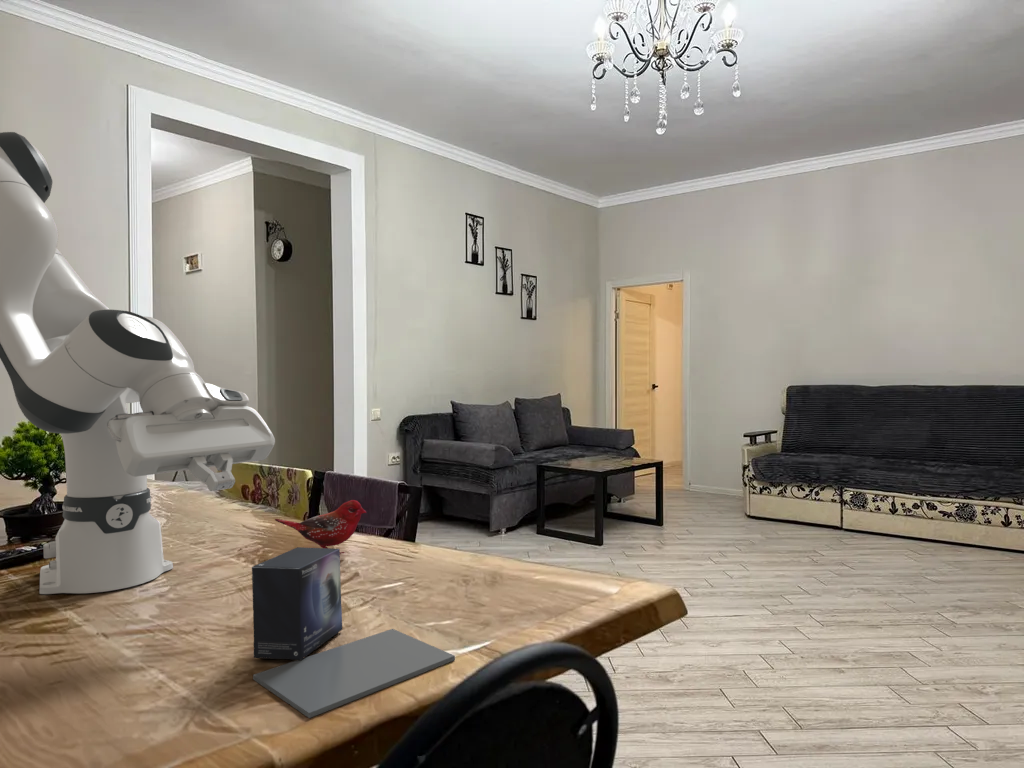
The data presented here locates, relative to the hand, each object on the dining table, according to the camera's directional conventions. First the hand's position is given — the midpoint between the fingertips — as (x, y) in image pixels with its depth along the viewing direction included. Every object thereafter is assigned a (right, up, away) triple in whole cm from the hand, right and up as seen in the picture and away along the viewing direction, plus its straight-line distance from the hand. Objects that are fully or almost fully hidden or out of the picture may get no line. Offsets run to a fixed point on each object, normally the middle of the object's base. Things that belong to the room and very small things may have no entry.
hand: (223, 486), depth 91 cm
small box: (+13, -18, -8) cm, 23 cm away
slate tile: (+21, -18, -15) cm, 31 cm away
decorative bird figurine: (+3, -17, +34) cm, 38 cm away
